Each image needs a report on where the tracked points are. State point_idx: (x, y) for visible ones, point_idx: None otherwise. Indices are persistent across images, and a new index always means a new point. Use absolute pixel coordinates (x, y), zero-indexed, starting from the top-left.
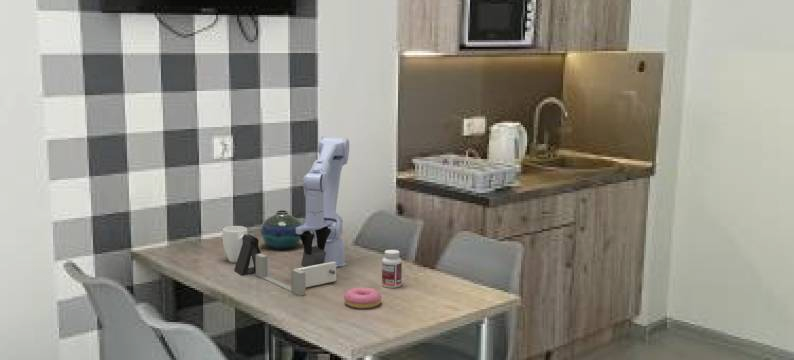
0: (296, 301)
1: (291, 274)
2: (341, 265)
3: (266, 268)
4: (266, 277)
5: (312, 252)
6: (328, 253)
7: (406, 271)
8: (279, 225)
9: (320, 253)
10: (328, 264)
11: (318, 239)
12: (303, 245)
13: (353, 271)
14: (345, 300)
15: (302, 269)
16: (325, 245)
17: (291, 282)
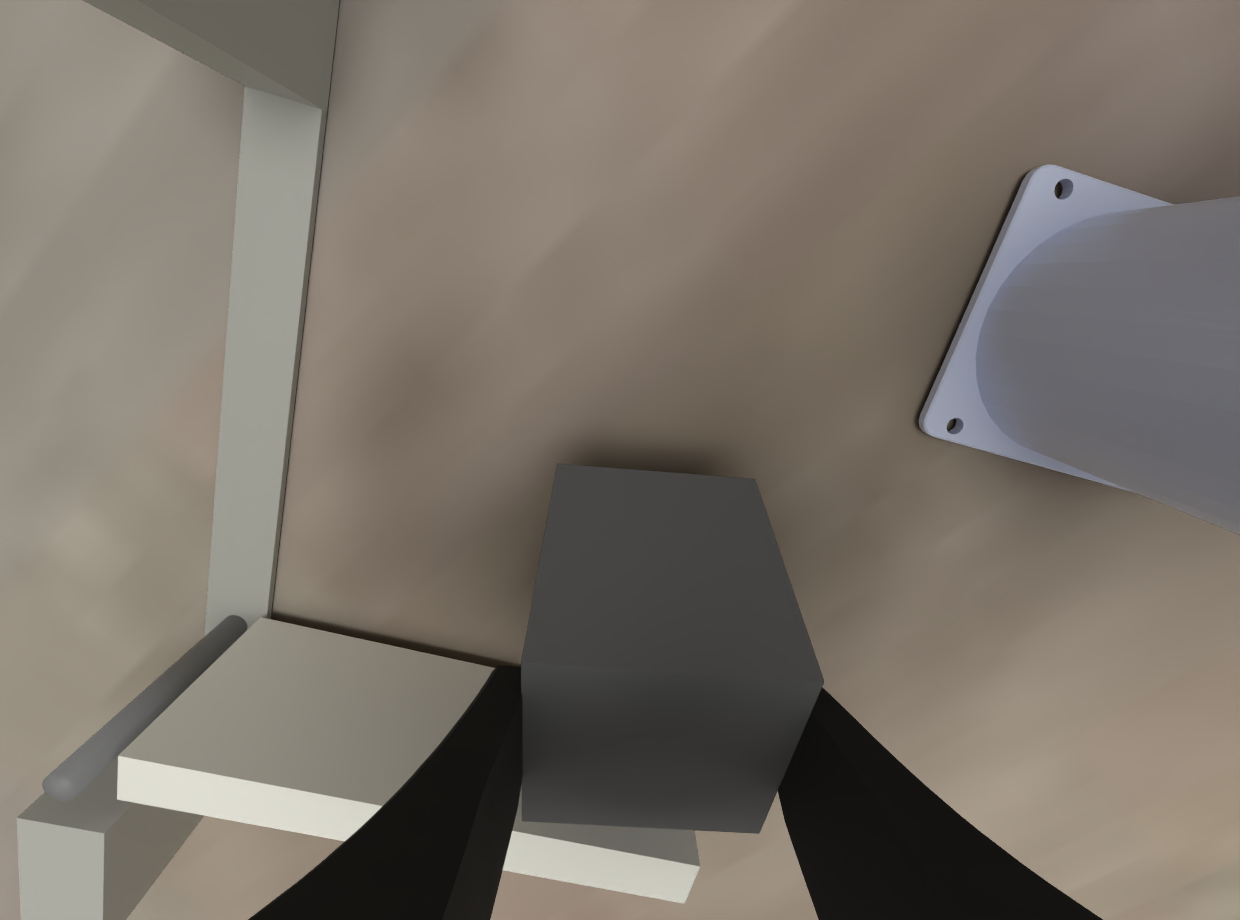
0: None
1: (108, 723)
2: (1122, 488)
3: (250, 69)
4: (281, 138)
5: (553, 774)
6: (1127, 480)
7: (1203, 913)
8: None
9: (648, 822)
10: (577, 878)
11: (883, 862)
12: (429, 763)
13: (1017, 651)
14: None
15: (209, 811)
16: (1229, 492)
17: (175, 663)
